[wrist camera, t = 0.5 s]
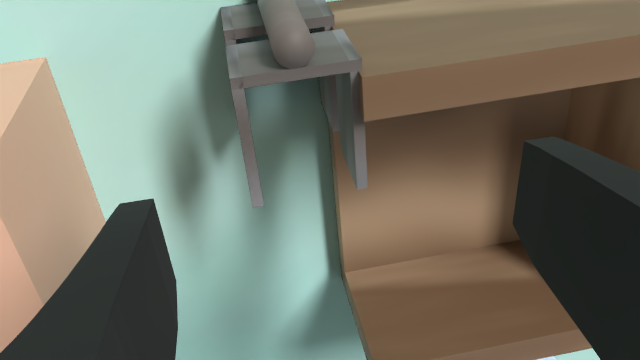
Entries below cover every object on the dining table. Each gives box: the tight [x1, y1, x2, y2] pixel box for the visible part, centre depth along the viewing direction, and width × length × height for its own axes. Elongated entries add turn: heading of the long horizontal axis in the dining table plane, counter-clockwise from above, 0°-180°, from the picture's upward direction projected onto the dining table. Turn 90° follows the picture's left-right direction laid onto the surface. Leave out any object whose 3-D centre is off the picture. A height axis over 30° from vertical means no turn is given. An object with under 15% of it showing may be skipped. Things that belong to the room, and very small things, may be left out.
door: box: [0, 57, 106, 353], centre depth 19 cm, size 11×2×7 cm, turn 5°
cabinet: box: [221, 0, 640, 360], centre depth 20 cm, size 13×13×6 cm
